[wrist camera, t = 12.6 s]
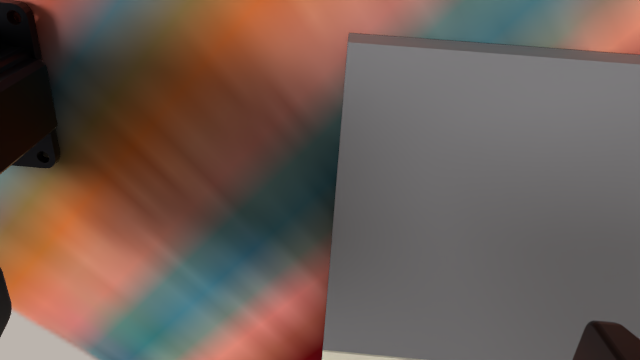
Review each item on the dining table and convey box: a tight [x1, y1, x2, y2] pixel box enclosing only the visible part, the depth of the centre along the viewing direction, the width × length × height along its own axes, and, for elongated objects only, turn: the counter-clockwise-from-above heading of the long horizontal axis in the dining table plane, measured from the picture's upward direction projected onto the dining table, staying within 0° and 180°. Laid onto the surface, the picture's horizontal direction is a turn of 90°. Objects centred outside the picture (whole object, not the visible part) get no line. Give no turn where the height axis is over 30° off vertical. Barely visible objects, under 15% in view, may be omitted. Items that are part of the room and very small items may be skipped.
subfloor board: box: [322, 33, 640, 360], centre depth 23 cm, size 17×20×1 cm
